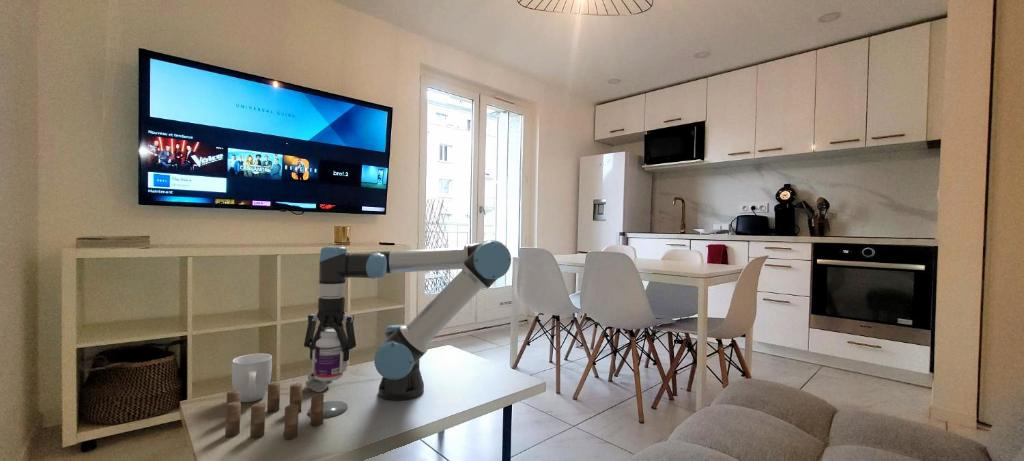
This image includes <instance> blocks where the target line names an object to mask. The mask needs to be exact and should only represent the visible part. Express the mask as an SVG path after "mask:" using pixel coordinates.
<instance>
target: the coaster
mask: <svg viewBox="0 0 1024 461" xmlns="http://www.w3.org/2000/svg"><path fill="white" fill-rule="evenodd" d="M348 406H349V405H348V403H347V402H344V401H341V400H328V401H323V419H326V418H332V417H333V418H334V417H337V416H341V415H342V414H344V413H345V412H347V410H348ZM307 414H308V416H309V417H311V407H309V409H308V410H307Z"/></svg>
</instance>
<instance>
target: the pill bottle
mask: <svg viewBox="0 0 1024 461" xmlns="http://www.w3.org/2000/svg"><path fill="white" fill-rule="evenodd" d="M342 350H343V349H342V346H341V344H340V341H339V338H338V336H337V332H336V331H335V330H334V328H331V329H328V328H326V329H325V330H323V331H321V338H320V339H318V340H317V342H316V352H315V378H316V379H317V380H318V381H332V382H333V381H336V380H339V379H340V378H342V376H344V372H343V373H339V371H340V351H342Z"/></svg>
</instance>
